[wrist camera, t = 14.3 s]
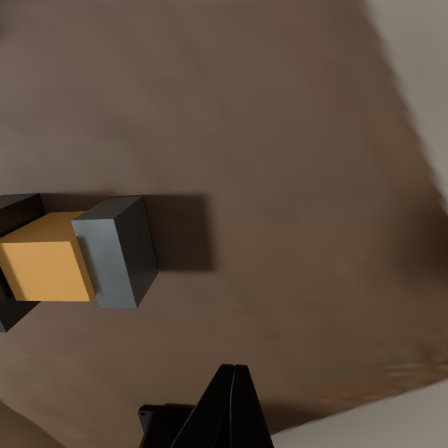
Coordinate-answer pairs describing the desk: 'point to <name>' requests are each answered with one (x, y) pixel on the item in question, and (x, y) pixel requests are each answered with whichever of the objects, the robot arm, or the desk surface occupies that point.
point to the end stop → (3, 225)
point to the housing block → (46, 261)
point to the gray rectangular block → (117, 251)
